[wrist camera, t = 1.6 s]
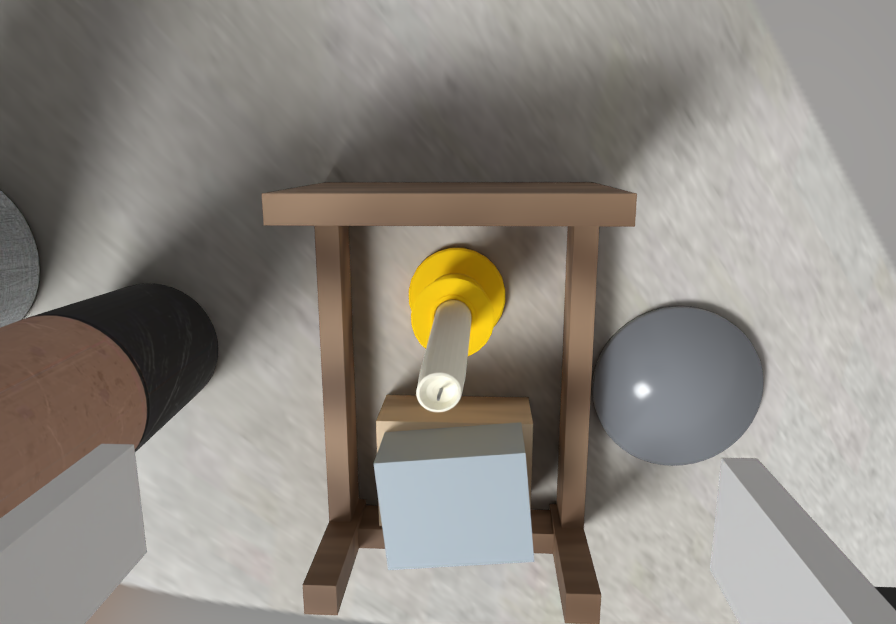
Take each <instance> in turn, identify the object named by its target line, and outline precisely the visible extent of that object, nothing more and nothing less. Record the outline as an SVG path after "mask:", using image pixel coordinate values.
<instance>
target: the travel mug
mask: <svg viewBox="0 0 896 624" xmlns="http://www.w3.org/2000/svg"><path fill="white" fill-rule="evenodd" d="M217 358H218V342H217V337H216V333H215V330H214V327H213V325H212V323H211V321H210V319H209V317H208V316H207V314H206V313H205V312H204V310H203V309H202V308H201V307H200V306H199V305H198V304H197V303H196V302H195V301H194V300H193V299H192V298H190V297H189V296H187V295H186V294H184V293H182V292H181V291H179V290H176V289H174V288H172V287H168V286H165V285H159V284H139V285H134V286H130V287H126V288H123V289H119V290H116V291H112V292H109V293H106V294H103V295H99V296H96V297H93V298H90V299H86V300H83V301H80V302H77V303H73V304H70V305H67V306H64V307H61V308H57V309H54V310H51V311H48V312H44V313H41V314H38V315H35V316H31V317H28V318H26V319H22V320H19V321H17V322H14V323H11V324H9V325H6V326H3V327H1V328H0V518H2V517H3V516H4V515H6V514H7V513H8V512H10V511H11V510H12V509H14V508H15V507H16V506H18V505H19V504H21V503H22V502H23V501H25V500H26V499H27V498H29V497H30V496H31V495H33V494H34V493H35V492H37V491H38V490H39V489H41V488H42V487H44V486H45V485H46V484H48V483H49V482H50V481H52V480H53V479H54V478H56V477H57V476H58V475H60V474H61V473H63V472H64V471H65V470H67V469H68V468H69V467H71V466H72V465H73V464H75V463H76V462H77V461H79V460H80V459H81V458H83V457H84V456H86V455H87V454H88V453H90V452H91V451H92V450H94V449H95V448H96V447H98V446H99V445H100V444H134V448H135V452H136V451H137V450H138V449H139V448H140V447H141V446H142V445H144V444H145V443H146V442H147V441H148V440H149V439H150V438H151V437H152V436H153V435H154V434H155V433H156V432H157V431H158V430H160V429H161V428H162V427H163V426H164V425H165V424H166V423H167V422H168V421H169V420H170V419H171V418H172V417H173V416H175V415H176V414H177V413H178V412H179V411H180V410H181V409H182V408H183V407H184V406H185V405H186V404H187V403H188V402H189V401H190V400H192V399H193V398H194V397H195V396H196V395H197V394H198V393H199V392H200V391H201V390H202V389H203V387H204V386H205V385H206V384H207V382H208V381H209V380H210V378H211V376H212V374H213V372H214V369H215V367H216V363H217Z"/></svg>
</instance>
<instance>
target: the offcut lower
mask: <svg viewBox="0 0 896 624" xmlns="http://www.w3.org/2000/svg"><path fill="white" fill-rule="evenodd" d="M518 422H521V424H522V432H523V439H524V446H525V453H526V466H527V478H528V490H529V503H530V511H531V478H532V445H533V421H532V415H531V410H530V404H529V399H528V397H480V396H461V398H460V400H459V402H458V403H457V404H456V405H455V406H454V407H453V408H451V409H449V410H447V411H444V412H432V411H429V410H427V409H425V408H424V407H423V406H421V404H420V403H419V402H418V399H417V396H416V395H386V398H385V400H384V403H383V405H382V408H381V410H380V413H379V415H378V417H377V420H376V436H377V452H378V450H379V447H380V444H381V441H382V438H383V436H384V433H385V432H395V431H408V430H422V429H436V428H449V427H463V426H477V425H490V424H504V423H518ZM378 502H379V499H378ZM379 526H382V521H381V514H380V507H379Z"/></svg>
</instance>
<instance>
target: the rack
mask: <svg viewBox="0 0 896 624" xmlns="http://www.w3.org/2000/svg"><path fill="white" fill-rule="evenodd" d="M636 201H637V194H636V193H632V192H628V191H625V190H621V189H617V188H613V187H609V186H605V185H601V184H597V183H594V182H324V183H319V184H313V185H307V186H302V187H296V188H290V189H285V190H279V191H273V192H267V193H262V207H263V222H264V225H302V226H314V228H315V248H316V268H317V287H318V307H319V327H320V347H321V366H322V386H323V406H324V426H325V445H326V465H327V485H328V505H329V524H328V526H327V528H326V531H325V533H324V535H323V538H322V540H321V543H320V545H319V547H318V550H317V552H316V554H315V557H314V559H313V562H312V564H311V566H310V569H309V571H308V573H307V576H306V578H305V580H304V583H303V599H304V614H316V615H338V612H339V609H340V606H341V603H342V599H343V596H344V593H345V590H346V587H347V584H348V581H349V577H350V574H351V571H352V568H353V565H354V562H355V559H356V555H357V552H358V549H359V548H378V549H385V543H384V535H383V528H382V526H379V506H373V505H366V499H359V483H358V456H357V430H356V404H355V378H354V352H353V326H352V300H351V274H350V248H349V226H568V231H567V255H566V280H565V305H564V330H563V355H562V380H561V405H560V429H559V454H558V479H557V504H550V506H549V510H531V511H530V515H531V528H532V540H533V553H548V554H553V556H554V562H555V568H556V574H557V580H558V586H559V591H560V597H561V603H562V609H563V615H564V620H565V623H573V624H599V623H600V606H601V592H600V588H599V584H598V581H597V577H596V573H595V569H594V566H593V562H592V558H591V554H590V551H589V547H588V543H587V539H586V536H585V532H584V512H585V492H586V473H587V454H588V434H589V415H590V395H591V376H592V357H593V337H594V318H595V298H596V279H597V260H598V240H599V226H632V227H635V217H636Z"/></svg>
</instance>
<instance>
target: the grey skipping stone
mask: <svg viewBox="0 0 896 624" xmlns="http://www.w3.org/2000/svg"><path fill="white" fill-rule="evenodd" d="M762 393H763V372H762V367H761V363H760V359H759V357H758V354H757V352H756V350H755V348H754V347H753V345H752V343H751V342H750V340H749V339H748V338H747V337H746V335H745V334H744V333H743V332H742V331H741V330H740V329H738V328H737V327H736V326H735V325H733V324H732V323H731V322H729V321H728V320H726V319H725V318H723V317H721V316H719V315H717V314H715V313H713V312H710V311H707V310H704V309H700V308H695V307H687V306H674V307H666V308H660V309H656V310H653V311H650V312H647V313H645V314H643V315H640V316H638V317H636V318H635V319H633V320H632V321H630V322H628V323H627V324H626V325H624V326H623V327H622V328H621V329H619V330H618V331H617V332H616V333H615V334H614V335H613V336H612V338H611V339H610V340H609V342H608V343H607V344H606V345H605V347H604V349H603V351H602V352H601V354H600V356H599V359H598V361H597V363H596V367H595V370H594V374H593V382H592V395H593V401H594V406H595V409H596V412H597V415H598V417H599V419H600V422H601V424H602V426H603V428H604V429H605V431H606V432H607V434H608V435H609V436H610V437H611V438H612V440H613V441H614V442H615V443H616V444H617V445H618V446H620V447H621V448H622V449H623V450H625V451H626V452H628V453H629V454H631V455H633V456H635V457H637V458H639V459H641V460H644V461H647V462H650V463H655V464H660V465H670V466H674V465H687V464H693V463H697V462H700V461H704V460H706V459H709V458H711V457H714V456H715V455H717V454H719V453H721V452H723V451H724V450H726V449H727V448H728V447H730V446H731V445H733V444H734V443H735V442H736V441H737V440H738V439H739V438H740V437H741V436H742V435H743V434H744V432H745V431H746V430H747V429H748V427H749V426H750V424H751V423H752V421H753V419H754V417H755V415H756V413H757V411H758V408H759V405H760V402H761V398H762Z"/></svg>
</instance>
